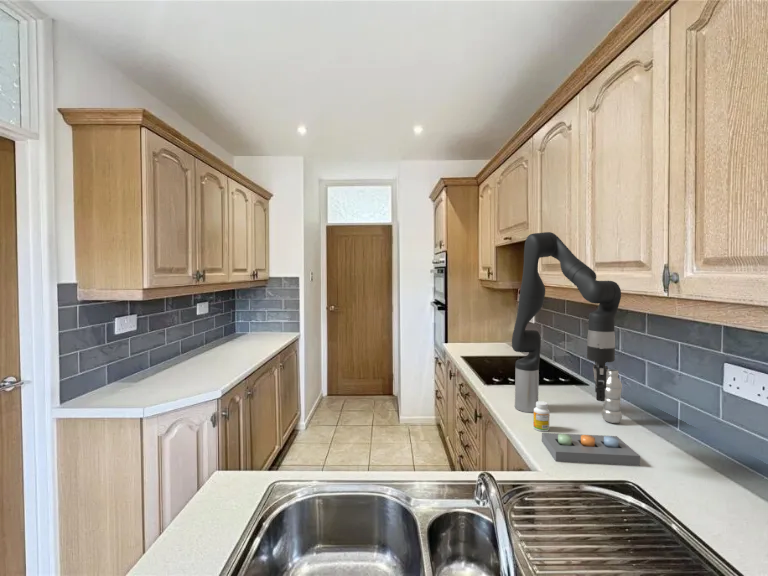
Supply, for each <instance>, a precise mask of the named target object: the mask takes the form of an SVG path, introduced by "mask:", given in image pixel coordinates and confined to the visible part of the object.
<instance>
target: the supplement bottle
mask: <svg viewBox="0 0 768 576" xmlns="http://www.w3.org/2000/svg"><path fill="white" fill-rule="evenodd" d="M548 407H549V405H548V402H546V401H542V400H538V401H537V402H536V407H535V408H534V412H533V424H532V425H533V429H534V430H535V431H538V432H542V433H546V432H548V431H549V430H550V409H549V408H548Z"/></svg>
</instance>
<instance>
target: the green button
mask: <svg viewBox="0 0 768 576" xmlns="http://www.w3.org/2000/svg"><path fill="white" fill-rule="evenodd" d="M567 434H568V433H559V434H558V444H559V445H564V446H572V437H571V436H570V435H567Z"/></svg>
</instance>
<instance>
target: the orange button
mask: <svg viewBox="0 0 768 576" xmlns="http://www.w3.org/2000/svg"><path fill="white" fill-rule="evenodd" d="M590 435H591V434H581V445H582V446H584V447H595V438H594V437H593V436H590Z"/></svg>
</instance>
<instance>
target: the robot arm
mask: <svg viewBox="0 0 768 576" xmlns="http://www.w3.org/2000/svg"><path fill="white" fill-rule="evenodd" d="M548 257H552V258H554V259H556V260H557V261H558V262H559V263H560V269H561V272H562V274H563V275H564V277H566V279H567V280H569V281H570V282H571V283H572V284H573V285H575V286H576V288H577V289H578V292H579V293H580V295H581V296H582V297H583V299H584V300H586V301H587V302H589V303H591V304H598V307H597V309H596V310H593V311H591V312H590V313H589V314H588V330H587V332H588V333H587V338H586V339H587V341H586V343H587V344H586V346H587V347H586V359H587V360H589V361H591V362H594V364H592V372H593V377H594V379H593V381H594V382H595V383H594V384H595V386H594V388H595V389H594V390H595V391H594V392H595V393H596V400H597V401H599V402H604V401H605V389H606V388H607V386H606V382H607V376H608V375H607V374H608V369H609V368H608V365H606V363H613V362H615V360H616V359H615V358H616V337H615V335H616V334H615V325H616V322H615V318H616V314H617V312H618V309H619V307H620V306H619V305H620V302H621V299H622V290H621V287H620V285H619V284H618V283H617V282H616V281H613V280H597V273H596V271H594V270H593V269H592V268H591V267H590V266H588V265H587V264H585V263H584V262H583V261H581V259H579V258H578V257H577V256H576V255H575V254H574V253H573V252H572V251H571V250H570V249H569V248H568V246H566V244H565V243H564V242H563V240H561V239H560V237H559V236H558V235H556V234H555V232H551V231H550V232H549V231H546V232H545V231H544V232H537V233H535V232H534V233H530V234H529V235H527V237H526V239H525V241H524V249H523V269H522V276H521V277H522V279H521V286H520V291H519V298H518V307H517V314H516V319H515V323H514V328H513V332H512V336H511V337H512V338H511V346H512V350H513V351H514V352H516V353H528V354H527V355H526V356H524V357H522V358H519V359H517V360H515V364H514V365H515V367H514V368H515V369H514V370H515V374H514V375H515V376H514V377H515V379H514V382H515V383H514V409H515V410H518V411H520V412H524V413H534V408H535V407H536V402H537V401H539V389H540V388H539V384H540V381H539V380H540V374H539V372H540V371H539V370H540V361H541V347H542V345H541V344H542V341H541V340H542V339H541V334H540V332H539V330H533V329H532V330H531V329H526V328H527V326H528V324H529V322H530V321H531V320H532V319H533V318H534V317H535V316H536V315H538V313H539V312H540V311H541V309H542V308H543V305H544V303H545V302H544V301H545V297H546V286H545V284H544V282H543V280H542V277H541V275H540V273H539V261H540V258H541V259H542V258H548ZM603 383H604V384H603Z"/></svg>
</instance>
